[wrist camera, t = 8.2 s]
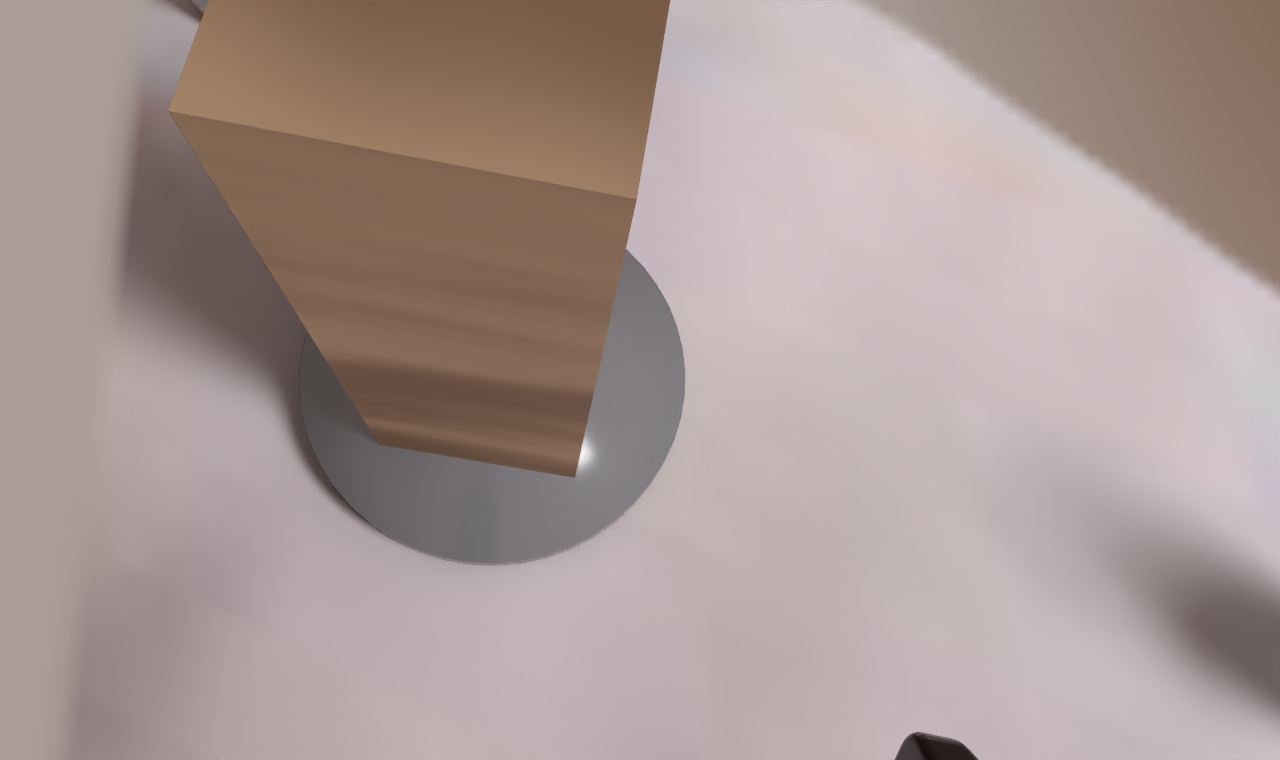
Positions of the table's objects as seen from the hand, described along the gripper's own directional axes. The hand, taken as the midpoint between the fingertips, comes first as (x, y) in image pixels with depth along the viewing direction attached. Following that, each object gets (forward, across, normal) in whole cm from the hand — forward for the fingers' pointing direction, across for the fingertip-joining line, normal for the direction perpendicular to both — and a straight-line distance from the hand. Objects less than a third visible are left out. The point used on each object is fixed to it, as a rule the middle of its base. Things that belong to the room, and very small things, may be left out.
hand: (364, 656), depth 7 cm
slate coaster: (+15, +1, +4) cm, 15 cm away
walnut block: (+14, +1, +4) cm, 15 cm away
